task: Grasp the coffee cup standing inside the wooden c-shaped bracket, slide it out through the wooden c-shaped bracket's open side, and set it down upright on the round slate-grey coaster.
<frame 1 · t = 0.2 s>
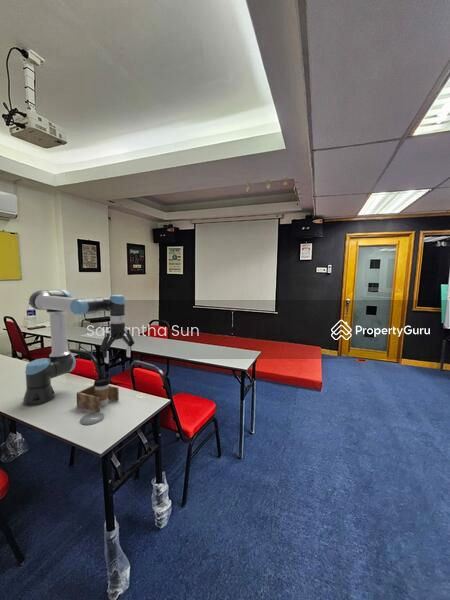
hand: (117, 359, 145), 27 cm above the table, fingers open, 13 cm apart
coffee cup: (102, 404, 149), on the table
coaster: (92, 418, 134), on the table
wooden c-shaped bracket: (98, 403, 150), on the table
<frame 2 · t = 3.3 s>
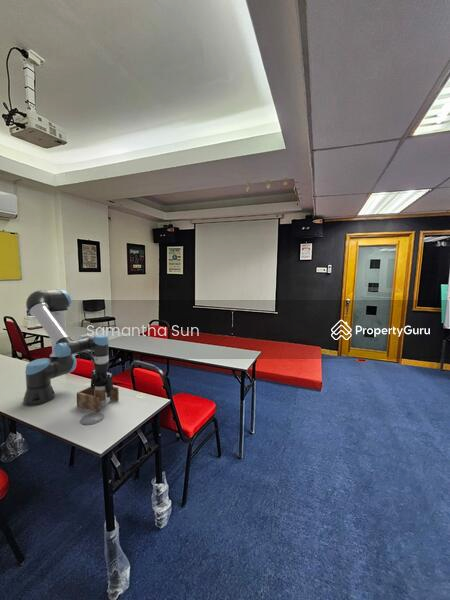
hand: (102, 400, 149), 2 cm above the table, fingers closed on coffee cup, 7 cm apart
coffee cup: (102, 404, 149), on the table, touching gripper
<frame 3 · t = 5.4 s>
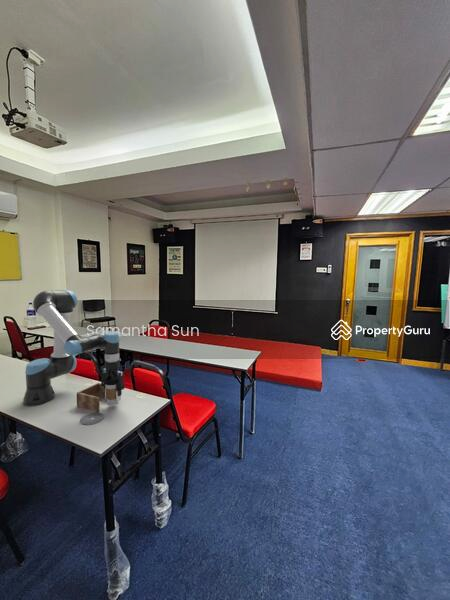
hand: (112, 399, 146), 4 cm above the table, fingers closed on coffee cup, 7 cm apart
coffee cup: (112, 403, 146), point 2 cm above the table, touching gripper
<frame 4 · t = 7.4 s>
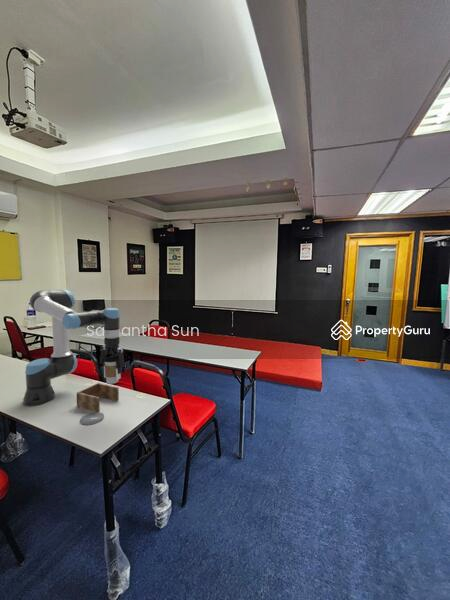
hand: (112, 377, 141), 19 cm above the table, fingers closed on coffee cup, 7 cm apart
coffee cup: (112, 381, 141), point 16 cm above the table, touching gripper
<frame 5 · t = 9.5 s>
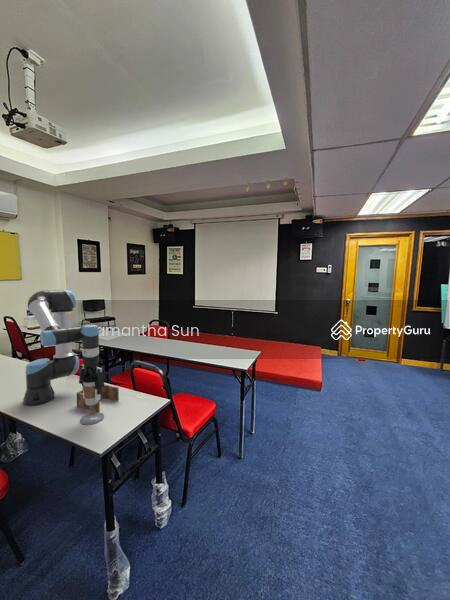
hand: (91, 398, 133), 11 cm above the table, fingers closed on coffee cup, 7 cm apart
coffee cup: (92, 403, 133), point 9 cm above the table, touching gripper
when the fingers open (4 cm above the table, at t = 11.3 s): coffee cup stays where it is, resting on coaster.
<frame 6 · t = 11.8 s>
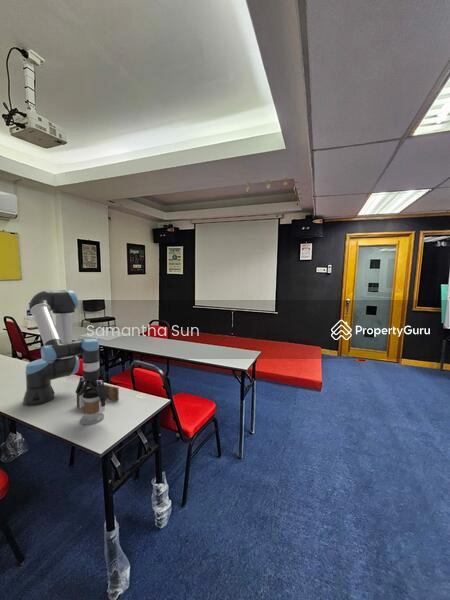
hand: (92, 409, 133), 5 cm above the table, fingers open, 13 cm apart
coffee cup: (92, 418, 134), resting on coaster
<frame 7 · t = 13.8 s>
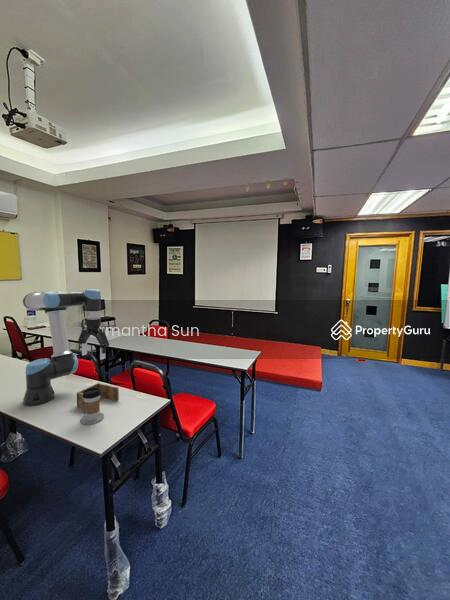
hand: (93, 356, 139), 30 cm above the table, fingers open, 13 cm apart
nothing on the table moved.
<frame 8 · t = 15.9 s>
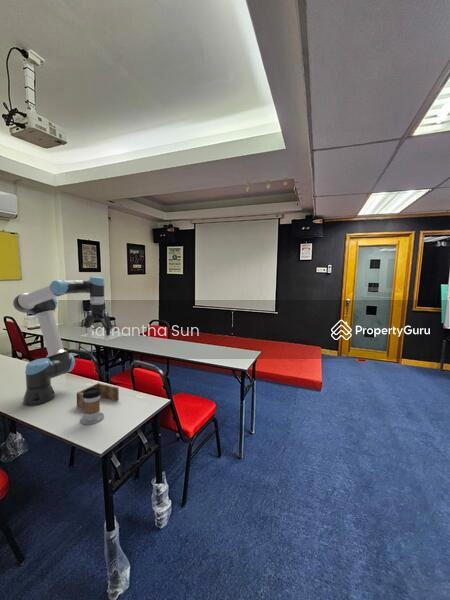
hand: (98, 339, 151), 37 cm above the table, fingers open, 13 cm apart
nothing on the table moved.
at the end: coffee cup 0.1 cm from the coaster (horizontally); coffee cup tilted 0°; coffee cup resting on coaster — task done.
